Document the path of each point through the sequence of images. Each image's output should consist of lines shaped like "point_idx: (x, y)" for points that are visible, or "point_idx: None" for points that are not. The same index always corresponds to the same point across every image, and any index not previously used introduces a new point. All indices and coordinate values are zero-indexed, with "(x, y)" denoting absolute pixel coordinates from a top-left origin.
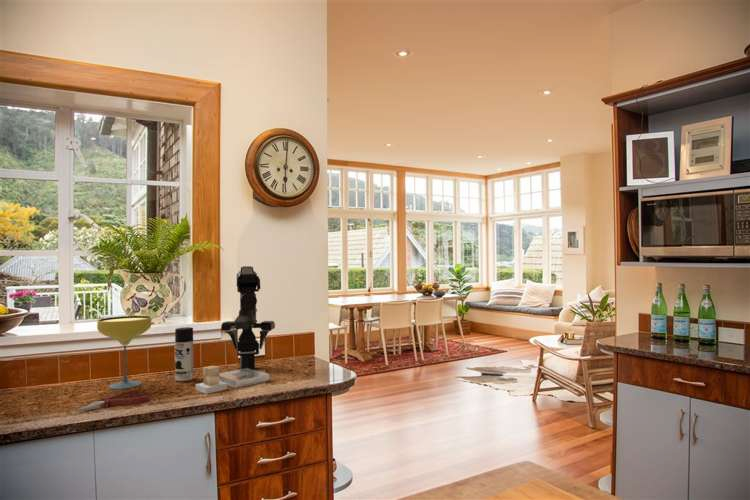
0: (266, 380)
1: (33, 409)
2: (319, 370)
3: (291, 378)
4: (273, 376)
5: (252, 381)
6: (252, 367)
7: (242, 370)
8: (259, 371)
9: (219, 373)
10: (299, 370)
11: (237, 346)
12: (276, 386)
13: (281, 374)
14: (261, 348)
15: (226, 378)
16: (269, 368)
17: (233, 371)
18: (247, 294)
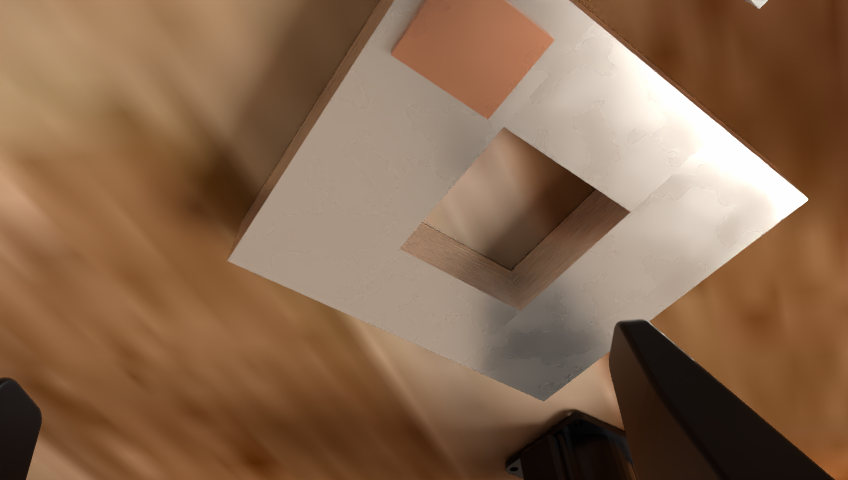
0: (253, 204)
1: None
2: (56, 476)
3: (94, 302)
4: (287, 333)
5: (328, 91)
6: (532, 453)
7: (555, 338)
8: (380, 328)
9: (760, 230)
10: (194, 463)
11: (622, 412)
12: (11, 29)
13: (258, 381)
14: (10, 414)
15: (639, 58)
16: (429, 476)
17: (632, 304)
18: None
